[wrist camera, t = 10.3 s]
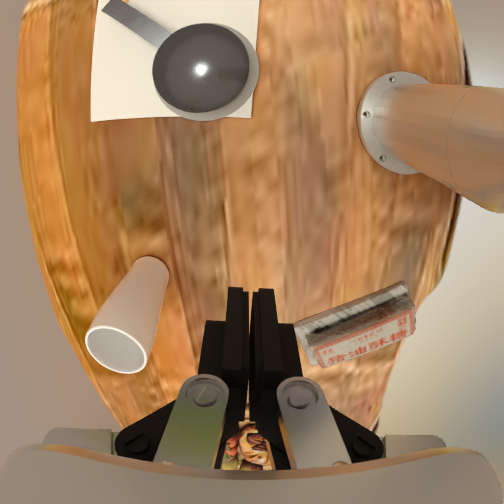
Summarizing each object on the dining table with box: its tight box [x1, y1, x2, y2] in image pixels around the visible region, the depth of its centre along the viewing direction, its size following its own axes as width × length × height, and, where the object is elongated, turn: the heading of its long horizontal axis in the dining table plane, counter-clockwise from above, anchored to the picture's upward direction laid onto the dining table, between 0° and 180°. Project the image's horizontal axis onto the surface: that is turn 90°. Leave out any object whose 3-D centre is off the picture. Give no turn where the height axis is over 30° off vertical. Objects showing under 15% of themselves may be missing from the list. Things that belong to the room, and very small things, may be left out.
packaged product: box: [294, 281, 416, 368], centre depth 43 cm, size 18×5×10 cm
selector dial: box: [101, 0, 250, 113], centre depth 24 cm, size 18×9×3 cm, turn 47°
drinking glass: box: [85, 256, 169, 374], centre depth 33 cm, size 7×7×15 cm
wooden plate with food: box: [222, 404, 272, 471], centre depth 58 cm, size 32×32×8 cm
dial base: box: [91, 0, 259, 122], centre depth 26 cm, size 18×18×2 cm
